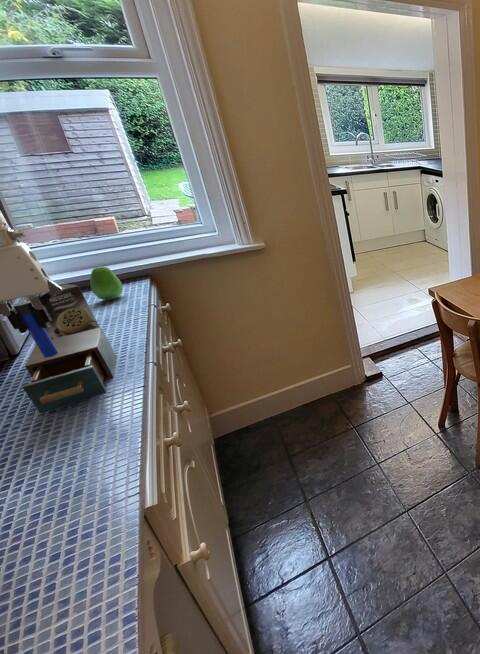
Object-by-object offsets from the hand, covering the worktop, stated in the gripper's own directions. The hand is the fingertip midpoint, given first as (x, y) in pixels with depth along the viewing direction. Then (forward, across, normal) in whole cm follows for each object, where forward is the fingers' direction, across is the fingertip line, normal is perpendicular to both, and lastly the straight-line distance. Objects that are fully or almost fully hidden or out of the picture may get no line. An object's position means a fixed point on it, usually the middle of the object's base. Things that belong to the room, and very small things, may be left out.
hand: (35, 327), depth 85 cm
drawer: (+17, -1, +1) cm, 17 cm away
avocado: (+18, -4, -73) cm, 75 cm away
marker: (+7, 0, 0) cm, 7 cm away
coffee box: (+18, +2, -35) cm, 39 cm away
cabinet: (+18, -1, -11) cm, 21 cm away
